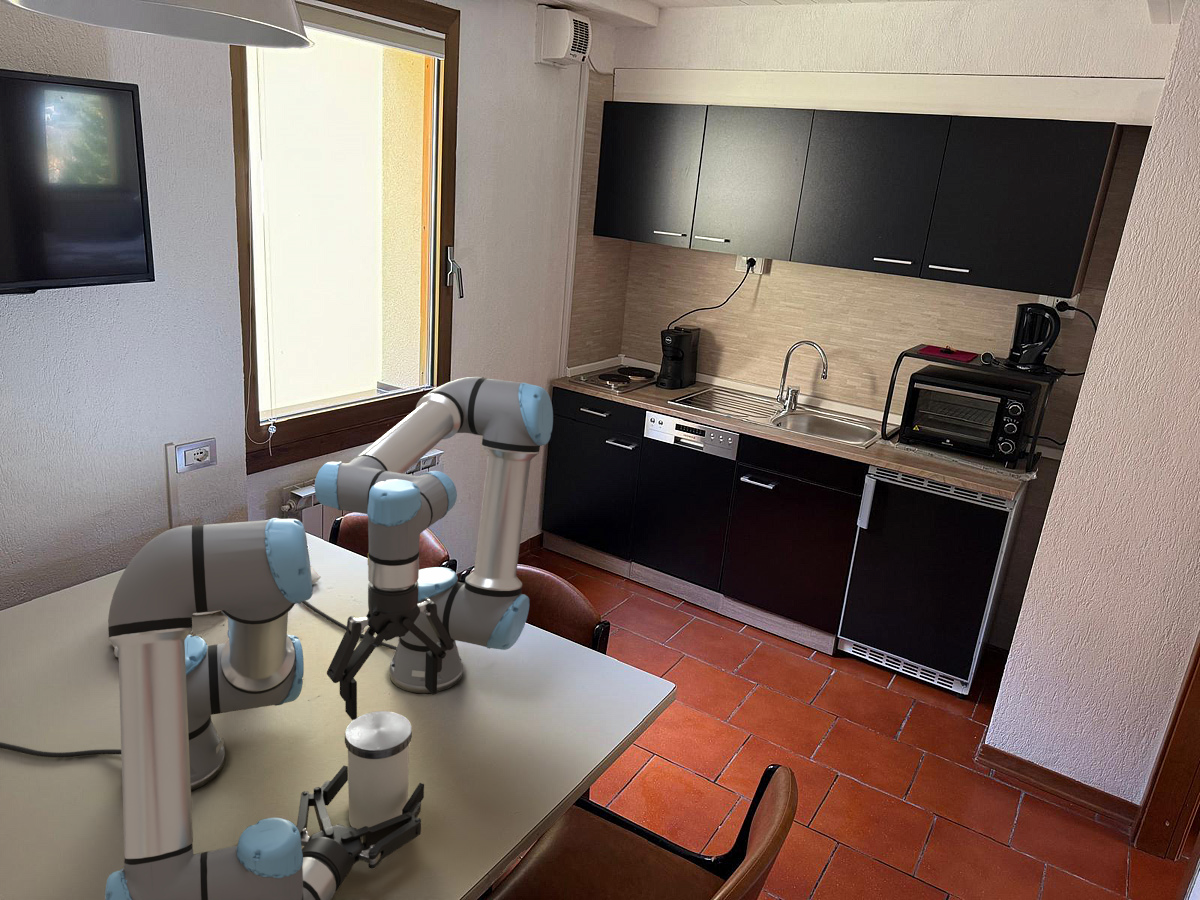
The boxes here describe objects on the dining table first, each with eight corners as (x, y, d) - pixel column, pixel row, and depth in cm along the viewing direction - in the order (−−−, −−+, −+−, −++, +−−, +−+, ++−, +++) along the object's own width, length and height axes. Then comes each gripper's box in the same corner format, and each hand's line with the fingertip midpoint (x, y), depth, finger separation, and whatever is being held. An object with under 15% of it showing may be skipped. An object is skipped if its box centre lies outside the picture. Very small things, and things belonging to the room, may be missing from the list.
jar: (348, 839, 136) (347, 753, 131) (349, 798, 145) (348, 717, 140) (409, 832, 138) (410, 748, 134) (406, 792, 147) (407, 712, 142)
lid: (344, 762, 131) (343, 753, 131) (345, 721, 141) (345, 713, 140) (413, 756, 134) (413, 747, 133) (410, 716, 143) (410, 708, 143)
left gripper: (237, 877, 125) (315, 784, 144) (395, 919, 120) (453, 816, 140) (234, 835, 122) (314, 746, 142) (395, 876, 118) (455, 778, 137)
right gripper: (454, 556, 141) (450, 669, 147) (303, 589, 125) (306, 714, 132) (477, 573, 135) (472, 691, 141) (322, 610, 120) (324, 739, 126)
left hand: (383, 781), depth 141 cm, fingers open, 13 cm apart
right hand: (392, 702), depth 136 cm, fingers open, 13 cm apart
